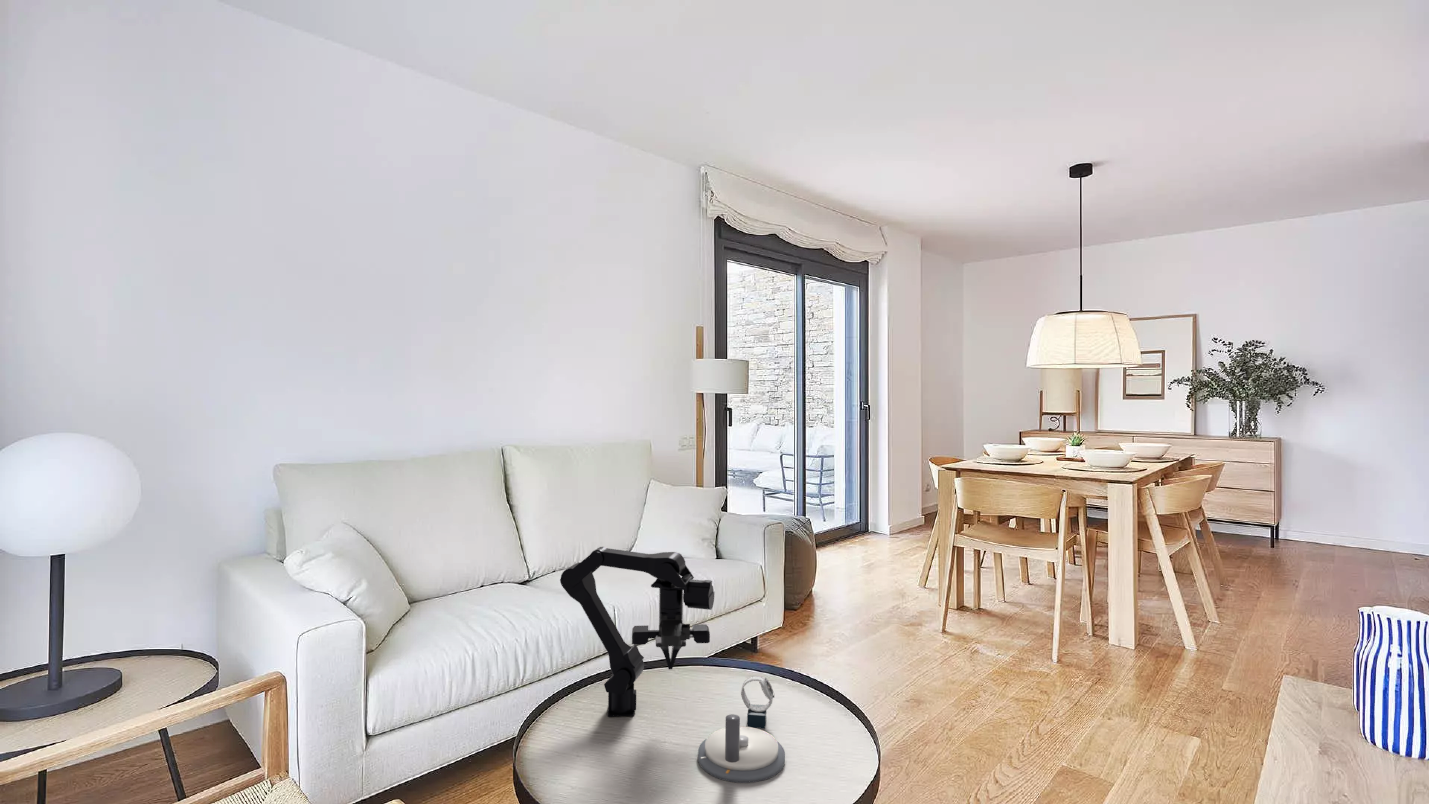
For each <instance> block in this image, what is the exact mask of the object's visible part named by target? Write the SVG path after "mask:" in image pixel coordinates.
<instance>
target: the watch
mask: <svg viewBox="0 0 1429 804" xmlns="http://www.w3.org/2000/svg"><path fill="white" fill-rule="evenodd" d="M751 682H759V685H760V688H761V691H762V692H763V695H764V696H765V698H766V699H768V700H769V702H767V703H766V704H756V703H755V704H753V703H751V702H750V700H749V698H748V696H747V694H746V691H745V686H746V685H747V684H749V683H751ZM740 696H741V700H742V702H743V703H744V705H745V707H746V708H747V716H746V719H747V720H746V723H747V724H746V727H752V728H757V729H766V726H767V712H768V711H767V710H768V709H769V708H771V706H772V704H773V700H774V698H775V692H774V689H773V686H772V684H771V682H770V681H769V679H768V678H766V677H763V676H760V675H752V676H751V675H750V676H749V677H747V678H746V679H745V680H744V681H743V683H742V687H741V691H740Z"/></svg>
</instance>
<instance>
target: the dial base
mask: <svg viewBox="0 0 1429 804" xmlns="http://www.w3.org/2000/svg"><path fill="white" fill-rule="evenodd" d="M706 739H707V738H705V739H704V740H703V741H702V742H701V743H700V744H699V746H698V750H697V753H698V754H697V760H698V764H699V766H700V767H701V769H702V770H703V771H704V772H705V773H706V774H708V775H710V776H712V777H714V778H716V779H719V780H723V781H726V782H732V783H740V784H741V783H745V784H748V783H756V782H761V781H765V780H768V779H770V778H773V777H775V776H776V775H778V774H779V773H780V772H781V771H782V770H783V768H784V767H785V763H786V752H785V749H784V747H783V745H782V744H781V743H780V742H779V741H777V743H778V756H777V758H776V760H775V761H774V762H773V763H771V764H770V765H768V766H766V767H764V768H760V769H756V770H748V771H739V770H731V769H727V768H723V767H720V766H718V765H716V764H714V763H713V762H711V761H710V760H709V759H708V757H707V756H706V754H705V741H706Z"/></svg>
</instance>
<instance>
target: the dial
mask: <svg viewBox="0 0 1429 804" xmlns="http://www.w3.org/2000/svg"><path fill="white" fill-rule="evenodd" d="M740 724H741V717H740V716H739V715H738V714H727V715H726V716H725V726H724V727H723V728H719V729H717V730H715V731H713V732H711V733H710V734H709V735H708V736H707V737H706V738H705V739H706V741H705V754H706V756H707V757H708V759H709V760H710V761H711V762H713V763H714V764H716V765H718V766H720V767H723V768H727V769H731V770H739V771H748V770H756V769H760V768H764V767H766V766H768V765H770V764H771V763H773V762H774V761H775V760H776V758H777V756H778V743H777V739H776V738H775V737H774V735H772V734H771V733H769V732H767V731H765V730H763V729H761V728H752V727H747V726H744V725H743V726H741V725H740Z"/></svg>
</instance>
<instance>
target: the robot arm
mask: <svg viewBox="0 0 1429 804" xmlns="http://www.w3.org/2000/svg"><path fill="white" fill-rule="evenodd" d="M600 567H608V568H614V569H621V570H622V569H623V570H628V571H635V572H636V571H637V572H643V573H646V574H649V575H650V576H652V577H653V578H656V579H655V581H653V582H652V583H651V584H650V587H651V588H653V589H655V588H656V589H659V591H658V592H659V595H658V596H659V597H658V598H659V600H658V601H659V602H658V608H659V609H658V610H659V611H658V629H651V630H650V629H649V625H633V627H632V629H631V644H632V646H631V645H630V644H628V643H626V642H625V640H624V638H623V637H622V635H621V633H620V632H619V630H618V628H617V627H616V625H615V623H614V621H613V620H612V617H611V616H610V614H609V612H608V610H607V609H606V607H605V605H604V603H603V601H602V600H601V598H600V596H599V594H598V592H597V585H596V579H595V577H594V572H596V571H597V570H598V569H599V568H600ZM694 578H695V577H694V575H693V574H692V572H691V571H690V569H689V568H688V566H687V565H686V561H685V557H683V555H682V554H681V553H680V552H677V551H668V552H667V551H665V552H657V553H656V552H655V553H644V552H636V551H628V550H623V549H616V548H615V549H614V548H608V547H605V546H599V547H597V548H596V549H594V550H593V551H592V552H590V554H589V555H587V557H586V558H584V559H583V560H582V561H580V562H576V563H574V564H572V565H570V567H568V568H566V569H564V571H562V573H561V575H560V579H559V581H560V585H561V587H562V589H563V590H564V591H565V592H566V593H567V594H568V595H569V596H570V598H572V599H573V600H575V601H576V602H577V603H579V604H580V606H581V607H582V609H583V612H584V613H585V615H586V616H587V618H588V620H589V622H590V624H591V626H592V628H593V630H594V631H595V633H596V634H597V636H598V639H600V641H601V644H603V647H604V648H605V650H606V652H607V654H608V661H609V668H610V671H611V673H612V675H611V676H610V677H609V678H608V679H607V680H606V682H604V685H603V686H604V688H605V692H606V693H608V701H607V702H608V703H607V704H608V705H607V713H606V714H607V717H609V718H610V717H611V718H612V717H632V716H635V711H637V689H636V688H635V682H636V681H637V679H638V678H639V677H640V676H641V674H642V673H643V672H644V668H645V663H644V659H645V657H644V655H642V654H641V652H640V651H639V648H638V646H637V645H640V646H642V645H646V644H648V642H649V639H650V640H651V639H655V647H656V648H660V649H661V651H662V653H663V655H664V659H665V661H666V665H667V668H668V670H673V668H674V664H675V662H676V658H677V656H678V654H679V652H680V650H681V649H682V648H684V647H686V646H687V642H686V641H687V640H690V639H691V638H693V641H694V642H695V643H696V644H709V643H710V641H711V639H710V638H711V635H710V634H711V632H710V627H709V626H708V625H707V624H706V623H705V624H704V623H703V624H692V627H691V625H690V623H683V621H684V619H683V617H684V615H683V612H684V609H683V608H684V606H685V607H687V608H689V609H697V610H698V609H699V610H712V609H713V607H714V604H715V590H714V589H715V588H714V585H713V581H712V580H711V579H705V580H702V579H694ZM683 603H684V605H683ZM670 647H671V652H670Z"/></svg>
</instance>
